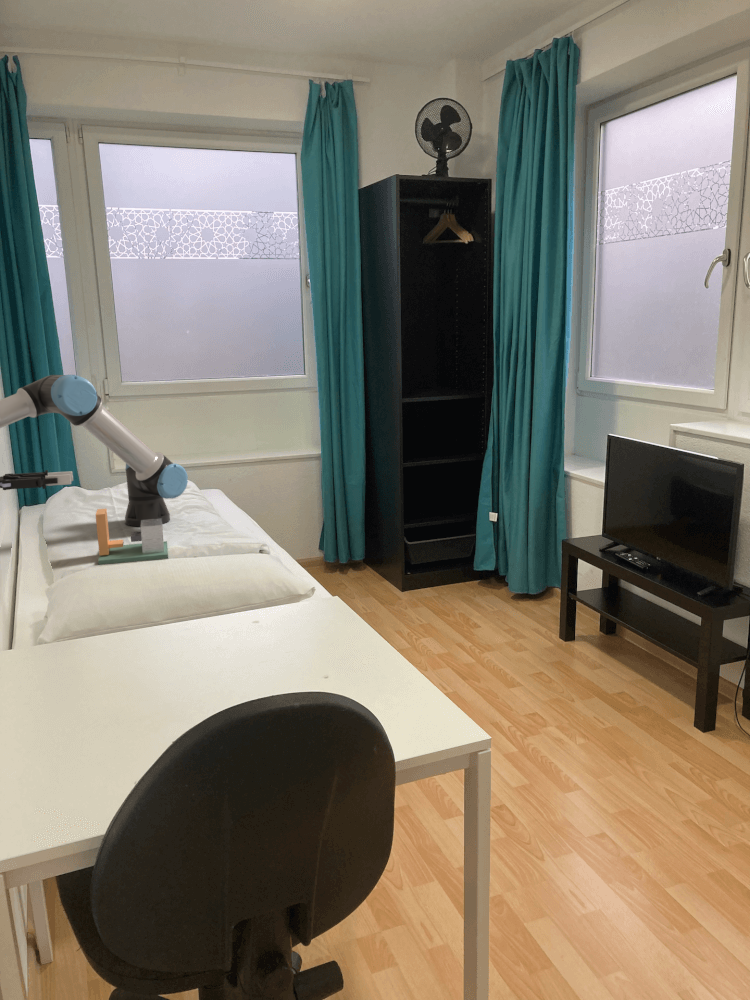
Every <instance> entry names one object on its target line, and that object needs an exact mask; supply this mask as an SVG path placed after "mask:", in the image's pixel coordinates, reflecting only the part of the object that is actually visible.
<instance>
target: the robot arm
mask: <svg viewBox="0 0 750 1000" xmlns="http://www.w3.org/2000/svg"><path fill="white" fill-rule="evenodd" d="M53 413H54V414H60V415H61V416H63V417H64V419H66V420H67V421H68V422H70V423H71V424H72V425H73V426H75V427H83V428H85V430H87V431H88V433H90V434H91V435H92V436H94V437H95V438H96V440H98V441H99V442H101V443H102V444H103V445H104V446H105V447H106V448H107V449H109V450H110V451H111V452H112V453H113V454H114V455H116V456H117V457H118V458H120V460H121V461H123V463H125V474H126V486H127V497H128V503H127V508H126V511H125V515H124V522H125V523H126V524H127V526H130V525H131V527H141V520H148V519H161V518H162V525H163V524H166V523H169V522H170V521H171V516H170V512H169V509H168V507H167V505H166V502H165V499H176V498H178V497H180V496H181V495H182V494H184V492H185V490H186V489H187V486H188V483H189V481H188V479H189V478H188V477H189V476H188V472H187V471H186V469H185V467H184V466H182V465H180V464H179V463H173V462H172V461H171V460H170V459H169V458H168V457H167V456H166V455H164V454H163V453H162V452H160V451H157V452H154V451H153V450H152V449H151V448H150V447H148V445H146V444H145V443H144V442H143V441H142V440H141V439H140V438H139V437H138V436H137V435H135V434H134V433H133V432H132V431H131V430H130V429H129V428H128V427H127V426H126V425H124V424H123V423H122V422H121V421H120V420H119V419H118V418H116V417H115V416H114V415H113V414H112V413H111V412H110V411H109V410H108V409H107V408H106V407H104V406H103V399H102V397H101V396H100V395H98V394H97V390H96V388H95V386H94V385H93V383H92V382H90V381H89V379H86V378H84V377H83V376H81V375H76V374H50V375H47V376H44V377H42V378H40V379H38V380H36V381H33V382H31V383H28V384H27V385H24V386H21V387H20V388H18V389H17V391H16V393H13V394H11V395H9V396H6V397H4V398H1V399H0V429H1V428H4V427H8V426H9V425H12V424H14V423H16V422H18V421H20V420H24V419H25V418H27V417H30V418H37V417H38V416H41V415H45V414H53ZM73 481H74V475H73V471H72V470H71V471H69V470H68V471H56V472H49V470H46V469H45V471H43V472H42V471H41V472H40V471H39V472H38V471H37V472H25V473H24V472H23V473H5V474H4V475H2V476H0V489H2V491H9V490H21V489H22V490H23V489H32V488H33V489H35V488H37V489H39V488H42V490H45V489H46V487H47V486H49V487H51V486H64V485H65V486H66V485H72V482H73ZM125 523H124V524H125ZM126 524H125V525H126Z"/></svg>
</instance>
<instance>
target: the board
mask: <svg viewBox="0 0 750 1000" xmlns="http://www.w3.org/2000/svg"><path fill="white" fill-rule="evenodd" d="M165 559H167V560H168V559H169V551H168V541H164V552H160V553H148V554H143V551H142V542H141V543H132V544H130V543H129V544H123V547H116V548H110V551H109V555H101V556H100V555H99V556H98V559H97V560H98V565H99V566H100V565H108V564H109V565H110V564H120V563H122V564H123V563H130V562H131V563H132V562H143V561H152V560H153V561H155V560H165Z"/></svg>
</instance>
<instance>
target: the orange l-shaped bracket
mask: <svg viewBox="0 0 750 1000" xmlns="http://www.w3.org/2000/svg"><path fill="white" fill-rule="evenodd" d="M95 523H96V534H97V541H98V542H97V544H98V552H99V553H98V554H99V556H101V555H109V551H110V548H116V547H123V545H124V544H125V543H124V539H114V540H110V530H109V522H108V510H107V508H97V510H96V512H95Z"/></svg>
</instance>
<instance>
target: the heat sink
mask: <svg viewBox="0 0 750 1000" xmlns="http://www.w3.org/2000/svg"><path fill="white" fill-rule="evenodd" d="M130 541H131V543H132V542H141V543H142V551H143V554H148V553H160V552H164V542H165V541H164V532H163V524H162V518H161V519H148V520H141V526H140V530H139V531H131V532H130Z"/></svg>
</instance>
